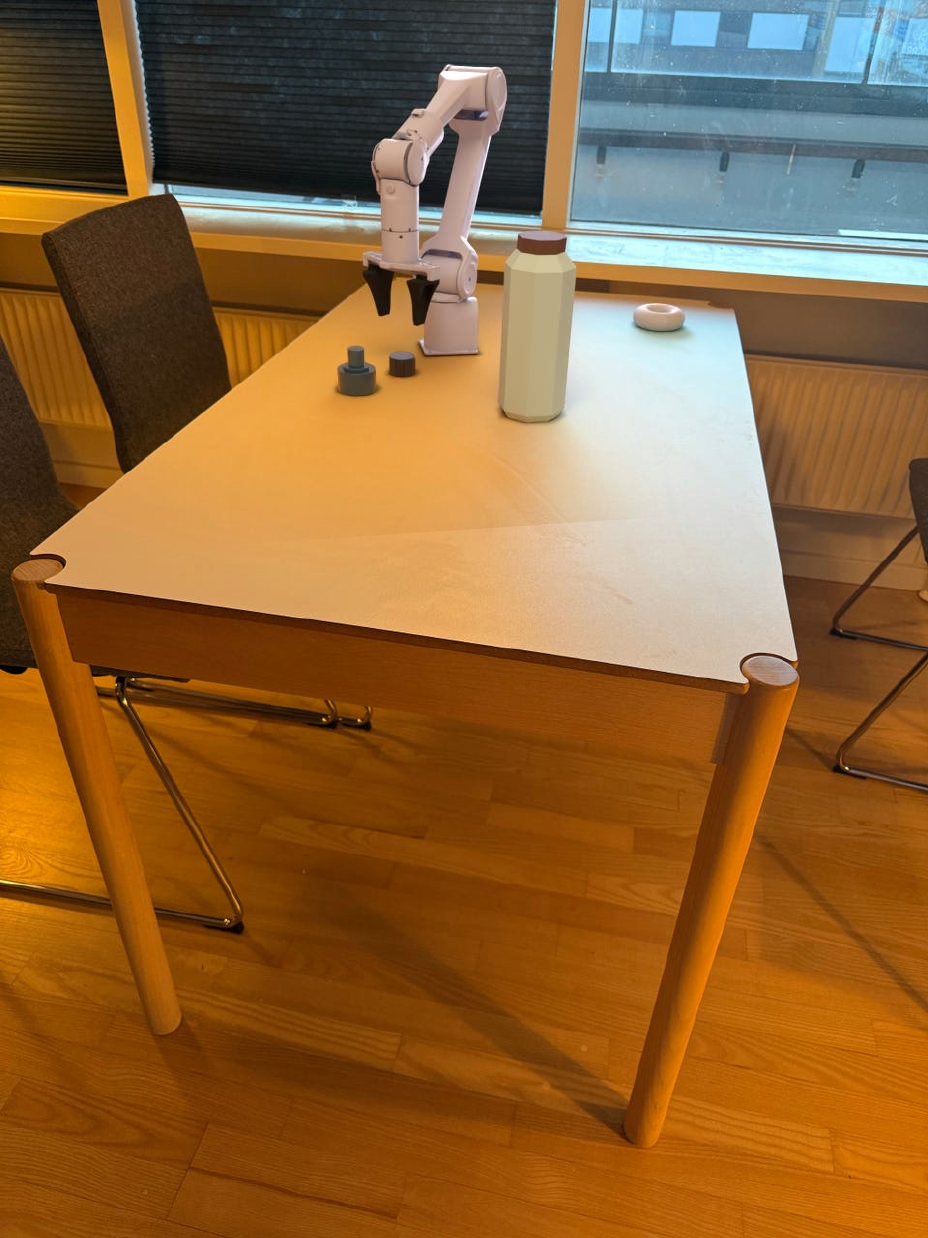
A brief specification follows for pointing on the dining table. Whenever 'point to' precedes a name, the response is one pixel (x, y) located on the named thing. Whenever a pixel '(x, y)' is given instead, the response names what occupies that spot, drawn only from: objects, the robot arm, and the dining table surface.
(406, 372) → the cap
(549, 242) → the water bottle
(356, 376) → the bottle
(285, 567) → the dining table surface
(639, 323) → the donut
